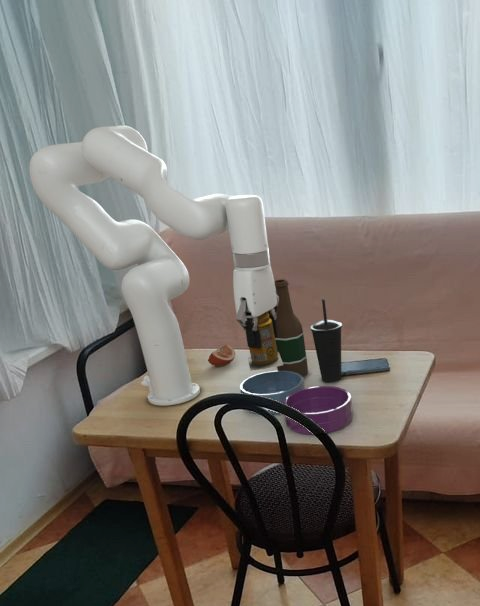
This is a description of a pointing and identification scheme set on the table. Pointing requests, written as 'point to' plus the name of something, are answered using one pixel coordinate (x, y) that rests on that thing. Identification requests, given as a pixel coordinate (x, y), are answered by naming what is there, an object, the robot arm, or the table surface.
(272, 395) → the slate bowl
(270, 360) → the condiment
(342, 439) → the table surface
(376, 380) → the table surface
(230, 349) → the fruit slice
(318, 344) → the drinking cup
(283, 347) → the beer bottle
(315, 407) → the plum bowl
